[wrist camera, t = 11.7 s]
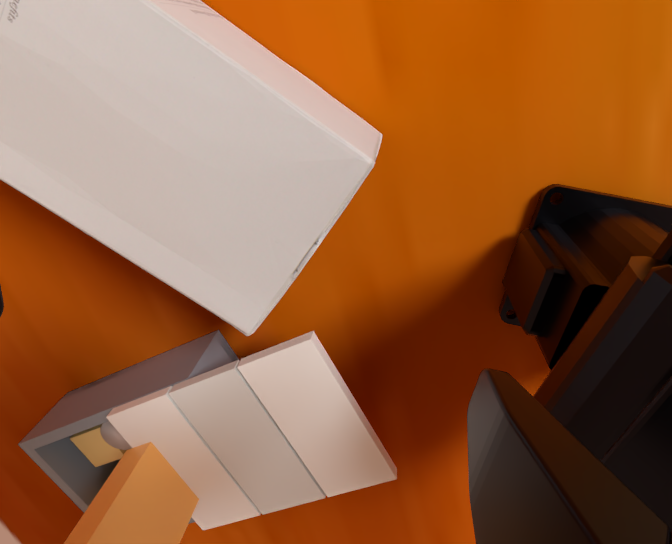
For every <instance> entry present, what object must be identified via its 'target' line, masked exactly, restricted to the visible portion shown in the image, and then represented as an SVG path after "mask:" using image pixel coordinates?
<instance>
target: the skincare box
mask: <svg viewBox="0 0 672 544" xmlns="http://www.w3.org/2000/svg"><path fill="white" fill-rule="evenodd" d="M381 141H382V134H381V133H380V132H379V131H377V130H376V129H375V128H374V127H372V126H371V125H370V124H368V123H367V122H366V121H364V120H363V119H362V118H360V117H359V116H358V115H356V114H355V113H354V112H352V111H351V110H350V109H348V108H347V107H346V106H344V105H343V104H341V103H340V102H339V101H337V100H336V99H334V98H333V97H332V96H330V95H329V94H328V93H327V92H325V91H324V90H323V89H322V88H320V87H319V86H318V85H316V84H315V83H314V82H312V81H311V80H310V79H308V78H307V77H305V76H304V75H303V74H301V73H300V72H298V71H297V70H296V69H294V68H293V67H291V66H290V65H288V64H287V63H285V62H284V61H282V60H281V59H280V58H278V57H277V56H276V55H274V54H273V53H271V52H270V51H269V50H267V49H266V48H265V47H263V46H262V45H261V44H259V43H258V42H257V41H255V40H254V39H252V38H251V37H250V36H248V35H247V34H246V33H244V32H243V31H241V30H240V29H239V28H237V27H236V26H235V25H233V24H232V23H231V22H229V21H228V20H226V19H225V18H224V17H222V16H221V15H220V14H218V13H217V12H216V11H214V10H213V9H211V8H210V7H209V6H207V5H206V4H204V3H203V2H202V1H200V0H0V180H2V181H3V182H5V183H7V184H8V185H10V186H11V187H13V188H15V189H16V190H18V191H20V192H21V193H23V194H24V195H26V196H28V197H29V198H31V199H32V200H34V201H35V202H37V203H39V204H40V205H42V206H43V207H45V208H46V209H48V210H50V211H51V212H53V213H54V214H56V215H58V216H59V217H61V218H62V219H64V220H66V221H67V222H69V223H70V224H72V225H74V226H75V227H77V228H78V229H80V230H81V231H83V232H84V233H86V234H88V235H89V236H91V237H93V238H94V239H96V240H97V241H99V242H101V243H102V244H104V245H105V246H107V247H108V248H110V249H112V250H113V251H115V252H116V253H118V254H119V255H121V256H123V257H124V258H126V259H127V260H129V261H131V262H132V263H134V264H135V265H137V266H139V267H140V268H142V269H143V270H145V271H147V272H148V273H150V274H151V275H153V276H155V277H156V278H158V279H159V280H161V281H162V282H164V283H166V284H167V285H169V286H170V287H172V288H174V289H175V290H177V291H178V292H180V293H182V294H183V295H185V296H186V297H188V298H190V299H191V300H193V301H194V302H196V303H197V304H199V305H200V306H202V307H204V308H205V309H207V310H209V311H210V312H212V313H213V314H215V315H216V316H218V317H219V318H221V319H222V320H224V321H226V322H227V323H229V324H231V325H232V326H233V327H235V328H236V329H238V330H239V331H240V332H242V333H243V334H245V335H246V336H249V335H251V334H253V333H254V332H255V331H256V329H257V328H258V327H259V326H260V324H261V323H262V322H263V321H264V319H265V318H266V317H267V316H268V314H269V313H270V312H271V311H272V309H273V308H274V307H275V306H276V304H277V303H278V302H279V301H280V299H281V298H282V296H283V295H284V294H285V292H286V291H287V290H288V288H289V287H290V286H291V284H292V283H293V281H294V280H295V279H296V278H297V276H298V275H299V274H300V272H301V271H302V269H303V268H304V266H305V265H306V264H307V262H308V261H309V259H310V258H311V257H312V255H313V254H314V252H315V251H316V249H317V248H318V247H319V245H320V244H321V242H322V241H323V239H324V238H325V236H326V235H327V234H328V232H329V231H330V229H331V228H332V227H333V225H334V224H335V222H336V221H337V220H338V218H339V217H340V215H341V214H342V212H343V211H344V210H345V208H346V207H347V205H348V204H349V202H350V201H351V199H352V198H353V196H354V195H355V193H356V192H357V190H358V189H359V187H360V186H361V185H362V183H363V182H364V180H365V179H366V177H367V176H368V174H369V173H370V171H371V170H372V168H373V167H374V164H375V161H376V158H377V155H378V151H379V148H380V145H381Z"/></svg>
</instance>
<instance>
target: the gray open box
mask: <svg viewBox="0 0 672 544" xmlns="http://www.w3.org/2000/svg"><path fill="white" fill-rule="evenodd" d="M237 360H239V359H238V357H237V356H236V354H235V353H234V351H233V350H232V349H231V347H230V346H229V344H228V343H227V341H226V340H225V338H224V337H223V335H222V334H221V333H220V331H219V330H217V331H215V332H212V333H210V334H207V335H205V336H203V337H200V338H198V339H195V340H193V341H191V342H188V343H186V344H183V345H181V346H179V347H176V348H174V349H171V350H169V351H166V352H164V353H162V354H159V355H157V356H154V357H152V358H150V359H147V360H145V361H142V362H140V363H138V364H135V365H133V366H130V367H128V368H126V369H123V370H121V371H118V372H116V373H114V374H111V375H109V376H106V377H104V378H102V379H99V380H97V381H94V382H92V383H90V384H87V385H85V386H82V387H80V388H78V389H75V390H73V391H70V392H68V393H66V394H65V396H64V397H63V398H62V399H61V400H60V401H59V402H58V403H57V404H56V405H55V406H54V407H53V408H52V409H51V410H50V411H49V412H48V413H47V414H46V415H45V416H44V417H43V418H42V420H41V421H40V422H39V423H38V424H37V425H36V426H35V427H34V428H33V429H32V430H31V431H30V432H29V433H28V434H27V435H26V436H25V437H24V438H23V439H22V440H21V441H20V442H19V444H18V445H19V446H20V447H21V448H22V449H23V450H24V451H25V452H26V453H27V454H28V455H29V456H30V458H31V459H32V460H33V461H34V462H35V463H36V464H37V465H38V466H39V467H40V468H41V469H42V470H43V471H44V472H45V473H46V474H47V475H48V476H49V477H50V478H51V479H52V480H53V481H54V482H55V483H56V484H57V485H58V486H59V487H60V489H61V490H62V491H63V492H64V493H65V494H66V495H67V496H68V497H69V498H70V499H71V500H72V501H73V502H74V503H75V504H76V505H77V506H78V507H79V508H80V509H81V510H82V511H83V512H84V513H85V511H86V510H87V508H88V507H89V505H90V504H91V502H92V501H93V499H94V498H95V496H96V495H97V493H98V492H99V490H100V489H101V488H102V486H103V485H104V483H105V482H106V480H107V479H108V477H109V476H110V474H111V473H112V471H113V470H114V468H115V467H116V465H117V464H118V462H119V461H120V459H121V458H122V456H123V455H124V453H125V452H126V450H128V449H131V448H132V447H131V446H130V445H129V444H128V442H127V441H126V440H125V439H124V438H123V437H122V435H121V434H120V433H119V432H118V431H117V430H116V428H115V427H114V426H113V425H112V424H111V423H110V421H109V420H108V419H107V418H106V417H107V415H108V414H109V413H110V412H111V410H112V409H113V408H115V407H118V406H120V405H123V404H126V403H128V402H131V401H133V400H136V399H138V398H141V397H144V396H146V395H149V394H151V393H154V392H156V391H159V390H162V389H164V388H167V387H169V386H172V387H173V385H175V384H177V383H180V382H182V381H185V380H187V379H190V378H193V377H195V376H198V375H200V374H203V373H206V372H208V371H211V370H213V369H216V368H218V367H221V366H224V365H226V364H229V363H231V362H234V361H237ZM239 361H240V360H239ZM192 522H195V521H194V519H193V518H192V517H191V519H190V521H189V523H192ZM189 523H188V524H189Z"/></svg>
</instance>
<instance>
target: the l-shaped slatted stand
mask: <svg viewBox="0 0 672 544" xmlns="http://www.w3.org/2000/svg"><path fill="white" fill-rule="evenodd" d="M106 418H107V419H108V420H109V421H110V423H111V424H112V425H113V426H114V427H115V428H116V430H117V431H118V432H119V433H120V434H121V435H122V437H123V438H124V439H125V440H126V441H127V442H128V444H129V445H130V446H131V447H132V448H131V449H128V450H126V452H125V453H124V455H123V456H122V458H121V459H120V461H119V462H118V464H117V465H116V467H115V468H114V470H113V471H112V473H111V474H110V476H109V477H108V479H107V480H106V482H105V483H104V485H103V486H102V488H101V489H100V490H99V492H98V493H97V495H96V496H95V498H94V499H93V501H92V502H91V504H90V505H89V507H88V508H87V510H86V511H85V513H84V514H83V516H82V517H81V519H80V520H79V522H78V523H77V525H76V526H75V527H74V529H73V530H72V532H71V533H70V535H69V536H68V538H67V539H66V541H65V542H64V544H180V541H181V539H182V537H183V535H184V532H185V530H186V528H187V526H188V523H189V521H190V519H191V517H192V518H193V519H194V521H195V522H196V523H197V524H198V525H199V526H200V528H201V529H202V530H207V529H210V528H214V527H218V526H222V525H226V524H229V523H233V522H237V521H241V520H244V519H248V518H252V517H256V516H260V514H261V513H262V515H263V514H267V513H271V512H275V511H278V510H282V509H286V508H290V507H294V506H297V505H301V504H305V503H309V502H312V501H316V500H320V499H324V498H325V496H326V495H327V497H331V496H335V495H339V494H343V493H346V492H350V491H354V490H358V489H362V488H365V487H369V486H373V485H377V484H380V483H384V482H388V481H392V480H396V479H397V468H396V466H395V464H394V463H393V461H392V459H391V458H390V456H389V454H388V453H387V451H386V449H385V448H384V446H383V445H382V443H381V441H380V440H379V438H378V436H377V435H376V433H375V431H374V430H373V428H372V426H371V425H370V423H369V421H368V420H367V418H366V417H365V415H364V413H363V412H362V410H361V408H360V407H359V405H358V403H357V402H356V400H355V398H354V397H353V395H352V393H351V392H350V390H349V389H348V387H347V385H346V384H345V382H344V380H343V379H342V377H341V375H340V374H339V372H338V370H337V369H336V367H335V365H334V364H333V362H332V361H331V359H330V357H329V356H328V354H327V352H326V351H325V349H324V347H323V346H322V344H321V342H320V341H319V339H318V337H317V336H316V334H315V333H314V331H311V332H309V333H306V334H304V335H301V336H298V337H296V338H293V339H291V340H288V341H286V342H283V343H280V344H278V345H275V346H273V347H270V348H267V349H265V350H262V351H260V352H257V353H255V354H252V355H249V356H247V357H244V358H242V359H241V361H239V360H237V361H234V362H231V363H229V364H226V365H224V366H221V367H218V368H216V369H213V370H211V371H208V372H206V373H203V374H200V375H198V376H195V377H193V378H190V379H187V380H185V381H182V382H180V383H177V384H175V385H173V387H172V386H169V387H167V388H164V389H162V390H159V391H156V392H154V393H151V394H149V395H146V396H144V397H141V398H138V399H136V400H133V401H131V402H128V403H126V404H123V405H120V406H118V407H115V408H113V409H112V410H111V412H110V413H109V414H108V415H107V417H106Z"/></svg>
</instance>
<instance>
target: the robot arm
mask: <svg viewBox="0 0 672 544" xmlns="http://www.w3.org/2000/svg"><path fill="white" fill-rule="evenodd" d="M554 193H560V198H559V199H558V200H557V201H555V202H551V201H550V197H551V196H552V194H554ZM503 285H504V287H505V289H506V291H505V294H504V296H503V299H502V302H501V304H500V307H499V313H500V316H501V319H502V320H503V321H504V322H506V323H508V324H513V325H518V326H521V327H522V328H523V330H524V332H525V333H526V334H527V335H532V336H535V338H536V340H537V342H538V344H539V346H540V349H541V351H542V353H543V355H544V357H545V359H546V362H547V364H548V366H549V368H550V369H551V372H550V373H549V375H548V376H547V377H546V379H545V380H544V382H543V383H542V385H541V386H540V387H539V389H538V390H537V392H536V393H535V395H534V396H532V395H531V394H530V393H529V392H527V391H526V390H525V389H524V388H523V387H522V386H521V385H520V384H519V383H518V382H517V381H516V380H515V379H514V378H513V377H512V376H511V375H510V374H508V373H507V372H503V371H498V370H493V369H488V368H486V369H484V370H483V371H482V372H481V374H480V376H479V378H478V381H477V384H476V386H475V389H474V392H473V394H472V397H471V400H470V403H469V406H468V412H467V428H468V465H469V493H470V503H471V511H472V518H473V525H474V532H475V539H476V544H672V206H669V205H664V204H659V203H654V202H648V201H643V200H638V199H633V198H628V197H623V196H617V195H612V194H607V193H602V192H597V191H591V190H586V189H581V188H576V187H571V186H565V185H560V184H552V185H549V186H548V187H546V188H545V189H544V190H543V192H542V194H541V196H540V199H539V202H538V204H537V207H536V210H535V213H534V215H533V218H532V221H531V223H530V226H529V229H528V228H526V229H525V230H523V231H522V232H520V235H519V238H518V240H517V243H516V246H515V249H514V251H513V254H512V257H511V260H510V262H509V265H508V268H507V271H506V273H505V276H504V279H503ZM3 308H4V303H3V297H2V291H1V286H0V317H1V315H2V312H3ZM511 309H514V310H515V313H514V314H511V315H508V314H506V313H507V311H509V310H511Z"/></svg>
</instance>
